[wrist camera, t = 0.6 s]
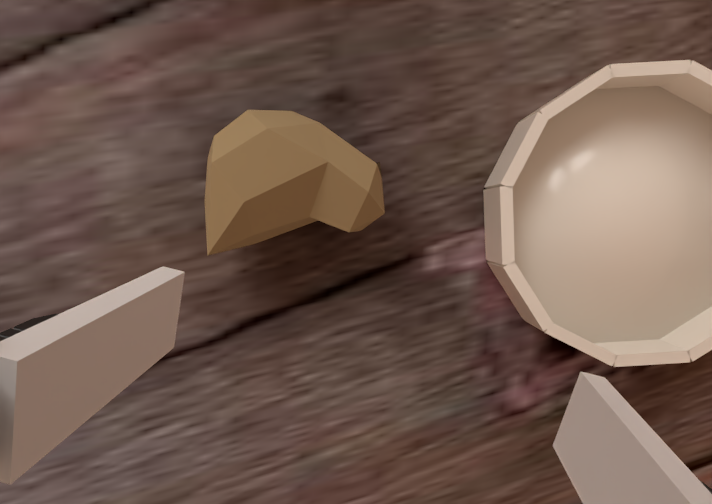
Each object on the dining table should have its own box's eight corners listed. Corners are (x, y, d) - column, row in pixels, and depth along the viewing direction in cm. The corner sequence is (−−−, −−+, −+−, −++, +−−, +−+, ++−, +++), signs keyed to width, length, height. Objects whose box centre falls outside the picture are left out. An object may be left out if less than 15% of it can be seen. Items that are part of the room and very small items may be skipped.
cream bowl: (479, 86, 39) (496, 70, 35) (753, 71, 39) (803, 53, 35) (489, 356, 41) (505, 373, 36) (750, 341, 41) (798, 355, 37)
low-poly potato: (188, 198, 40) (231, 310, 35) (146, 105, 30) (197, 241, 26) (342, 148, 44) (398, 243, 39) (348, 51, 34) (423, 161, 30)
